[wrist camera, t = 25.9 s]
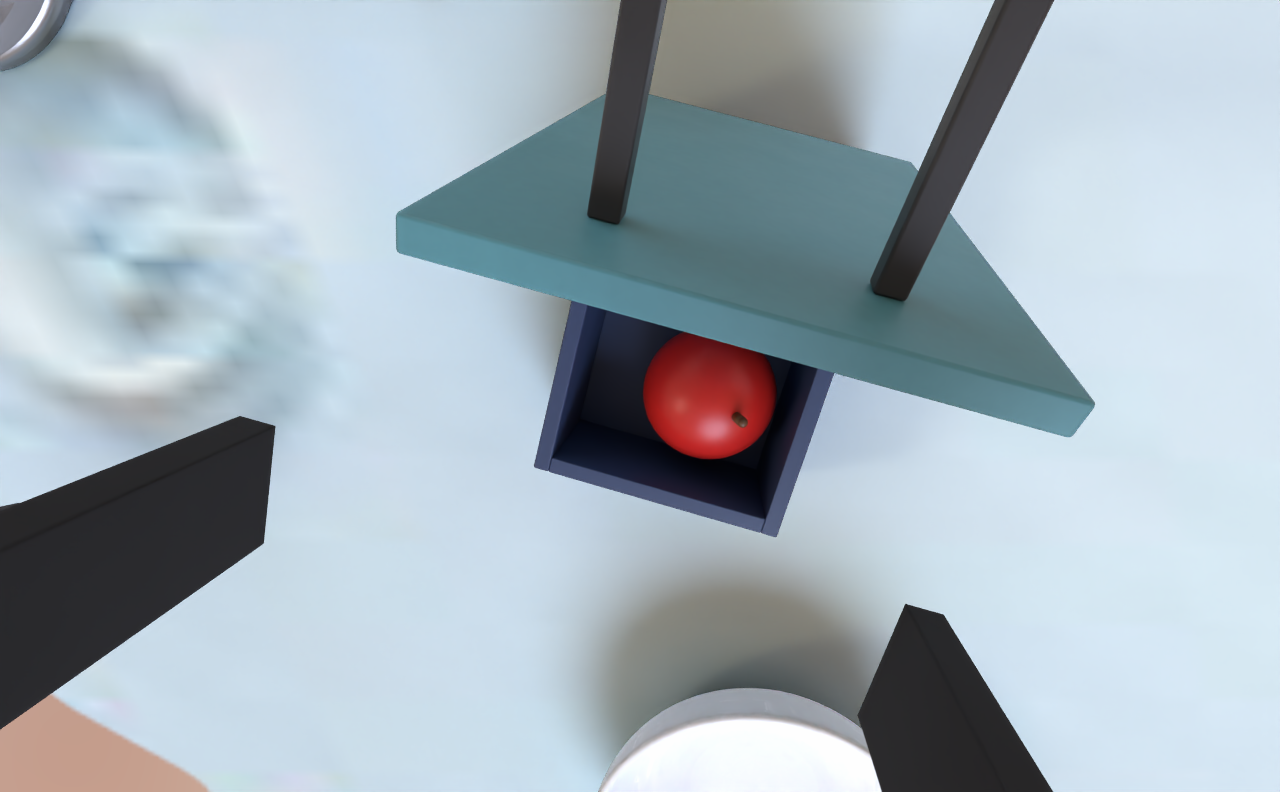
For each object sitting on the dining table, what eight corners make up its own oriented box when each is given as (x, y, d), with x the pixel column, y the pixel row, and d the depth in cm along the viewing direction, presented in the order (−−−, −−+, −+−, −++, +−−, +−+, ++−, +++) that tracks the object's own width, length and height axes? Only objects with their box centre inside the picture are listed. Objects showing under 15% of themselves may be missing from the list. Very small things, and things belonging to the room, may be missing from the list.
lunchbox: (764, 479, 39) (776, 538, 31) (567, 423, 39) (533, 467, 32) (862, 187, 34) (904, 172, 26) (638, 128, 35) (617, 98, 27)
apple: (615, 420, 36) (656, 483, 29) (646, 302, 34) (697, 338, 27) (722, 436, 39) (785, 498, 31) (757, 326, 37) (831, 366, 30)
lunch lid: (1072, 440, 11) (1539, -171, 6) (394, 253, 12) (381, -430, 7) (903, 181, 26) (1007, -55, 22) (613, 106, 27) (655, -141, 22)
